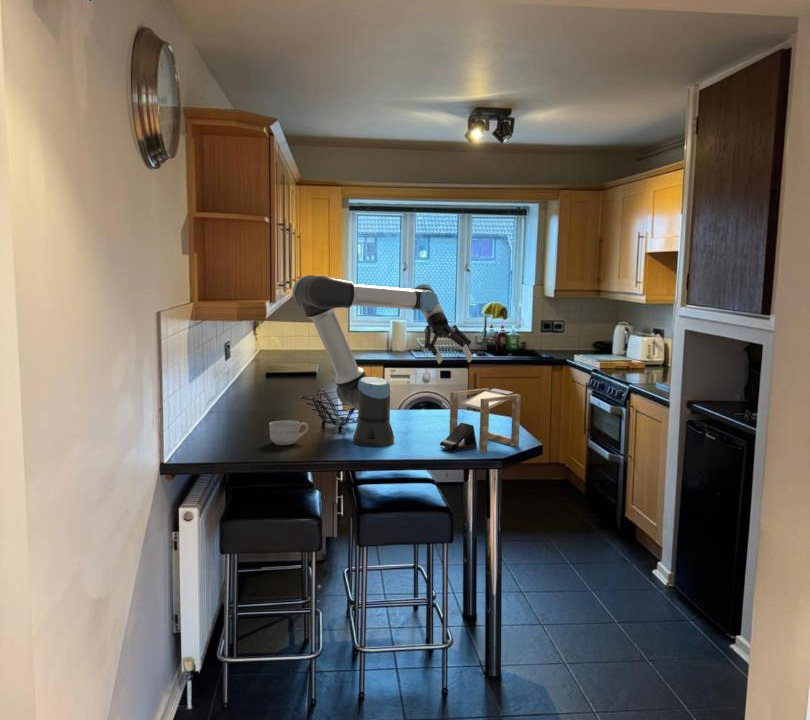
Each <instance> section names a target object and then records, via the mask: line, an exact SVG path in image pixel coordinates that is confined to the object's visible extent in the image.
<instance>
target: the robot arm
mask: <svg viewBox="0 0 810 720" xmlns="http://www.w3.org/2000/svg"><path fill="white" fill-rule="evenodd" d="M292 296H293V299H294V301H295V303H296V304H297V305H298V306H299V307H302V308H301V309H302V310H303V313H304V315H305V317H306V318H307V319H310V320H312V322H313V324H314V327H315V329H316V331H317V334H318V336H319V339H320V341H321V343H322V345H323V347H324V349H325V352H326V353H327V356H328V358H329V361H330V364H331V365H332V368H333V370H334V372H335V374H336V377H335V380H334V381H335V384H336V387H335V388H336V389H335V393H336V396H337V398H338V400H339V401H340V402H341V403H342V404H343V405H345V406H347V407H350V408H353V409H356V410H357V423H356V426H355V429H354V433H353V435H352V442H353V444H354V445H357V446H363V447H371V448H372V447H373V448H374V447H375V448H376V447H378V448H379V447H387V446H391V445H393V444H395V435H394V432H393V428H392V426H391V420H390V417H391V415H390V414H391V392H392V391H391V384H390V382H389V380H387V379H385V378H382V377H377V376H367V375H366V372H365V370H364V368H362V367H361V366H360V367H359V366H358V365H357V364H358V363H357V362H356V359H355V357H354V355H353V352H352V350H351V348H350V346H349V343H348V341H347V338H346V335H345V334H344V331H343V329H342V326H341V324H340V322H339V320H338V317H337V315H336V313H335V309H340V308H341V309H342V308H344V309H350V308H351V307H352V306H357V307H371V308H373V307H375V308H384V309H386V308H388V309H401V310H402V309H403V310H415V311H417V310H418V311H421V312H422V314H423V316H424V319H425V321H426V324H427V325H426V326H425V328H424V334H425V335H424V349H428V350H427V351H429V352H431V353H432V355H433V356H434V357H435V359H436V361H437V363H438V364H441V363H442V361H443V360H444V358H443V356H442V354H441V351H440V350H439V349H440V348H439V347H438V345H436V342H437V340H438V338H440V339H442V338H447V339H448V340H452V341H453V342H454V343H456V344H458V346H459V347H461V350H462V352H463V354H464V357H465V359H466V361H467V363H471V361H472V360H473V359H474V358H473V357H474V356H473V355H472V353H471V352H472V351H471V348H470V345H471V344H472V341H471V340H470V338H468V336H466V335H465V334H464V333H463V332H462V331H461V330H460V329H459V328H458V327H457V325H456V324H453V325H452V326H450V325H449V321H448V318H447V317H446V314H445V312H444V310H443V308H442V306H441V304H440V302H439V298H438V295H437V294H436V292H435V291H434V290H433V288H432V286H431V285H430V284H428V283H422V284H418V285H417V286H415V288H414V289H413V288H403V287H402V288H401V287H392V286H378V285H369V284H368V285H367V284H359V283H353V281H351V280H345V279H339V278H335V277H331V276H326V275H314V274H311V275H310V274H309V275H305V276H302V277H300V278H299V279H298V280H296V282H295V284H294V285H293V289H292ZM431 333H433V334H434V335H433V338H432V340H431Z"/></svg>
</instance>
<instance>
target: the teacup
mask: <svg viewBox="0 0 810 720" xmlns="http://www.w3.org/2000/svg"><path fill="white" fill-rule="evenodd" d="M268 425H269V438H270V441H271V442H273V443H274V444H275V445H276V446H289V445H293V444H295V443H296V442H297V441H298V439H300V438H301V437H302V436H304V435H305V434H306V433H307V432H308V431H309V425H308V423H306V422H299V421H298V420H297V421H296V420H275V421H271V422H269V424H268ZM302 426H304V427H305V429H304V431H302V432H300V430H301V427H302Z"/></svg>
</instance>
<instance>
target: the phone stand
mask: <svg viewBox="0 0 810 720" xmlns="http://www.w3.org/2000/svg"><path fill="white" fill-rule="evenodd" d="M449 434H450V433H449ZM439 446H440V449H441V450H444V451H448V452H451V453H456V452H457V451H461V450H472V449H473V450H474V449H477V448H478V445H477V438H476V433H475V428H474V425H473V424H469V423H465V422H459V424H457V427H456V428H455V429H454V431H453V432H452V433H451V434H450V435H448V436H447V437H446V438H445V439H444V440H441V441H440V443H439Z"/></svg>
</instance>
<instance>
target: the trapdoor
mask: <svg viewBox="0 0 810 720" xmlns="http://www.w3.org/2000/svg"><path fill="white" fill-rule="evenodd" d="M508 395H514V391H509V390H505V389H499V388H492V389H490V390H489V391H485V392H482V393H477V394H475V395H474V396H471V397H470V398H467V399H465V400H463V401H460V406H464V407H469V408H471V409H472V408H473V409H476V410H480V404H481V399H482V398H492V397H500V396H508ZM511 401H513V399H509V400H501V401H493V402H489V408H488V409H489V410H490V409H492V408H494V407H497V406H499V405H501V404H503V403H504V402H511Z"/></svg>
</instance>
